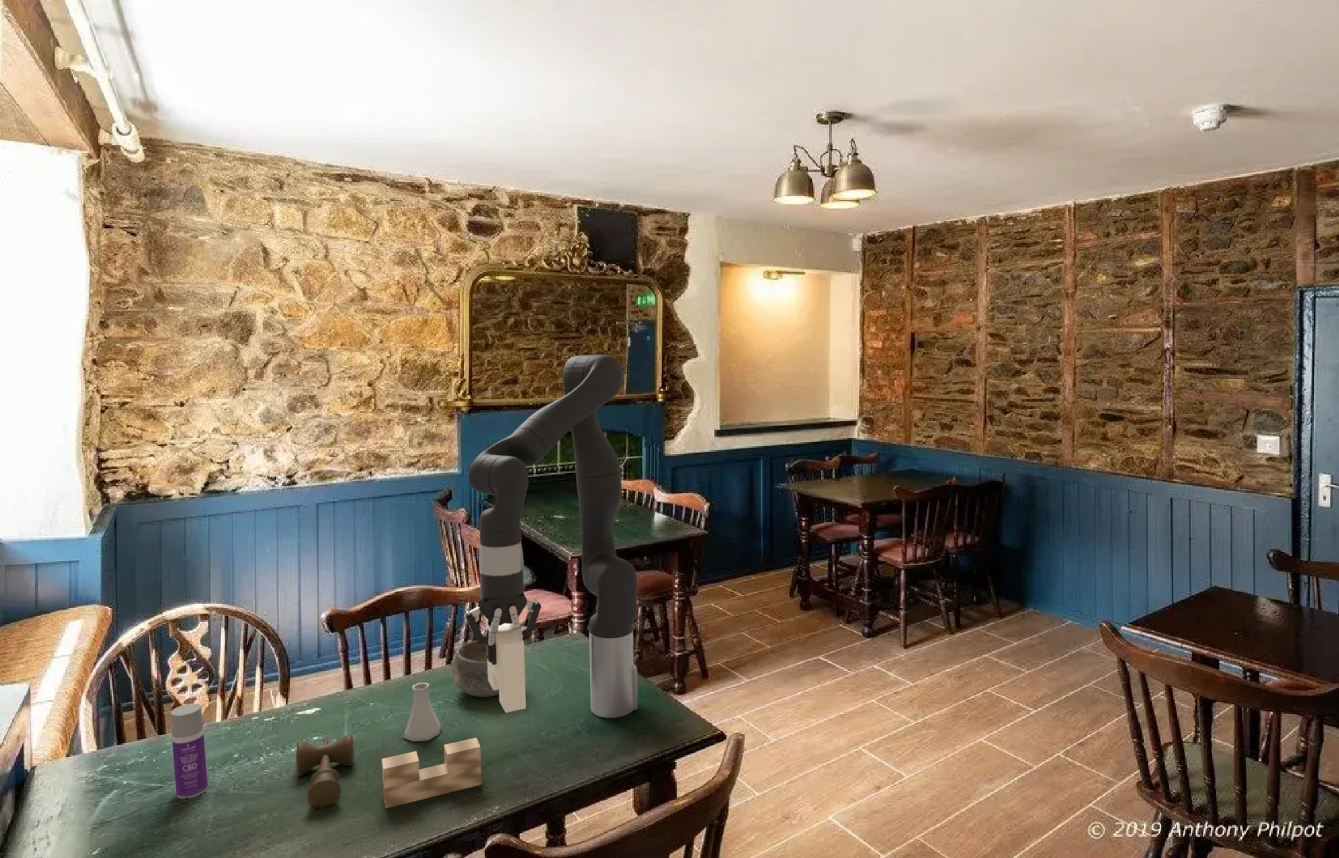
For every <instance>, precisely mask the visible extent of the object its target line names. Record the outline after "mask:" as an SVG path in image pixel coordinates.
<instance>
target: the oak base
mask: <svg viewBox="0 0 1339 858" xmlns="http://www.w3.org/2000/svg"><path fill="white" fill-rule="evenodd" d="M443 750H444V751H443V753H444V763H442V764H437V765H434V766H429V767H424V768H421V769H420V761H419V756H418V752H417V750H416V751H411V752H407V753H401V754H397V755H394V756H393V755H392V756H389V757H384V758H381V771H382V791H383V793H382V794H383V801H384V809H389V808H394V807H397V806H400V805H401V806H402V805H405V804H408V803H409V804H410V803H413V802H417V801H421V800H425V799H430V798H433V797H437V796H441V795H444V794H449V793H452V792H456V791H457V792H458V791H461V790H465V789H470V788H473V787H477V786H481V785H482V763H481V762H482V755H481V752H482V751H481V745H480V742H479V740H478V738H477V737H474V738H469V739H464V740H460V741H456V742H451V743H446V744H444V745H443Z"/></svg>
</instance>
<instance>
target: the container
mask: <svg viewBox="0 0 1339 858" xmlns="http://www.w3.org/2000/svg"><path fill="white" fill-rule="evenodd" d="M170 724H171V741H172V742H171V744H172V756H173V758H172V759H173V767H174V768H173V769H174V781H175V791H176V792H175V793H176V798H177V799H180V798H181V800H186V799H185V798H189V799H192V798H196V797H199V796H201V795H202V794H205V792H206V791H207V790H208V788H209V780H208V767H207V755H206V754H207V753H206V741H205V730H204V728H205V727H204V719H203V712H202V705H201V704H199V703H188V704H183V705H180V706H177V707H175V708H174V709H172V710H171V711H170ZM200 794H201V795H200ZM198 795H199V796H198Z"/></svg>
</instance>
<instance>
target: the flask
mask: <svg viewBox="0 0 1339 858" xmlns="http://www.w3.org/2000/svg"><path fill="white" fill-rule="evenodd" d="M429 687H430V683H427V682H417V683H415V684H413V685H412V687H411V691H412V692H413V700H412V707H411V711H410V715H409V717H408V721H407V724H406V727H405V731H404V733H403V737H402V738H403V739H405V740H408V741H410V742H413V743H414V742H427V741H430V740H432V739H434V738H435V737H437V736H438V735H440V733H441V731H442V728H443V727H442V724H441V722H440V720H439V718H438V716H437V715H436V712H435V709H434V708H433V705H432V703H431V699H430V696H429Z"/></svg>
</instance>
